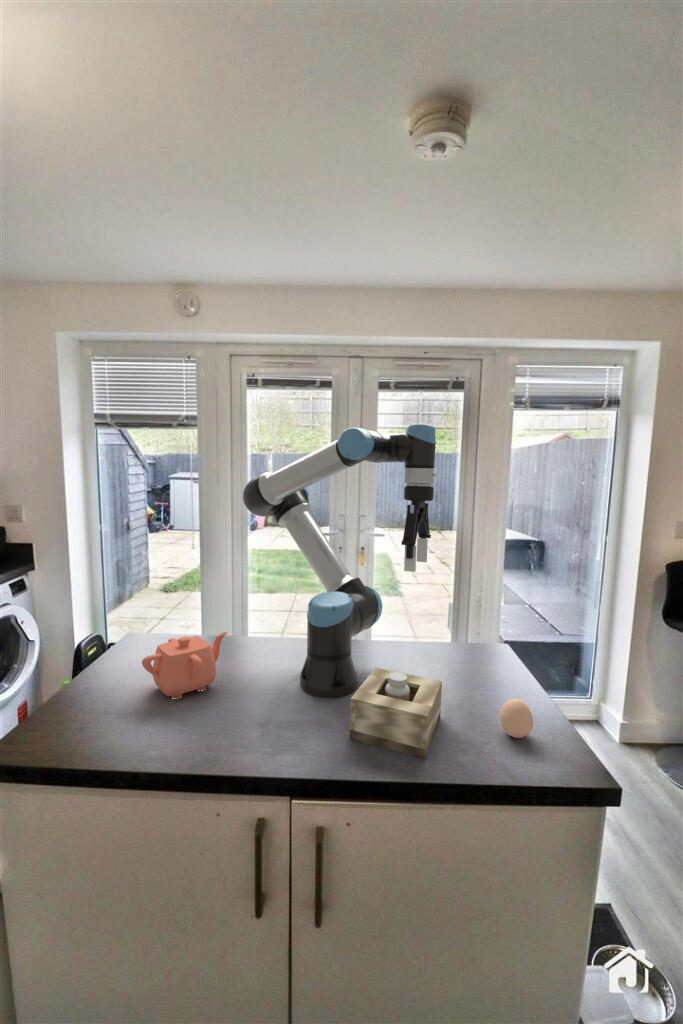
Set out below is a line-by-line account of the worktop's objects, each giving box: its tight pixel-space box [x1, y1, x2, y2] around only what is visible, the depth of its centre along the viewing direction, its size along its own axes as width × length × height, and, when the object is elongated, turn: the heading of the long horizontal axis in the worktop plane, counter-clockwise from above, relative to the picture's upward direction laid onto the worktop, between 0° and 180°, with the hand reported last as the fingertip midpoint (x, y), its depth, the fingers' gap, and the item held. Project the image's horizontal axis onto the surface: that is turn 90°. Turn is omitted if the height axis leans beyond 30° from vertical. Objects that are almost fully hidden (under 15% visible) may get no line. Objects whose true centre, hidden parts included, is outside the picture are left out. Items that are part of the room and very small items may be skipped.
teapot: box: [141, 631, 228, 699], centre depth 110 cm, size 17×16×13 cm
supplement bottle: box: [385, 672, 410, 701], centre depth 94 cm, size 5×5×10 cm
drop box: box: [349, 667, 443, 760], centre depth 94 cm, size 16×16×9 cm
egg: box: [499, 698, 534, 739], centre depth 92 cm, size 7×7×8 cm
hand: (416, 566), depth 113 cm, fingers open, 13 cm apart
